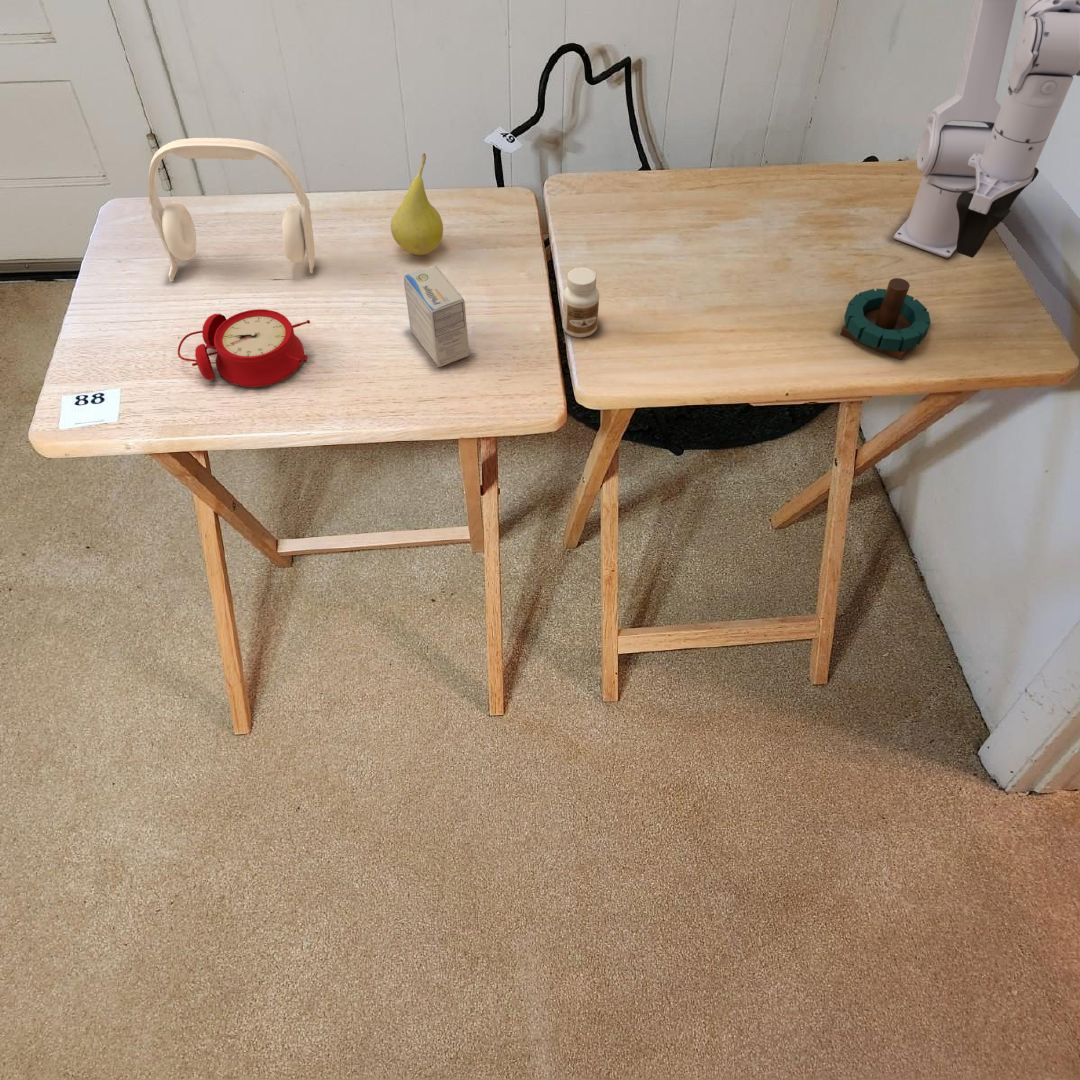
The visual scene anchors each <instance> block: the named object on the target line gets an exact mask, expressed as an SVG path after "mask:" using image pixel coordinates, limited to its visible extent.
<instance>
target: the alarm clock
mask: <svg viewBox="0 0 1080 1080" xmlns="http://www.w3.org/2000/svg"><path fill="white" fill-rule="evenodd" d="M310 323H311V320H309V319H307V320H306V321H303V322H299V323H296V324H292V322H291V321H290V320H289V318H287V317H286V316H285V315H284V314H282V313H280V312H278V311H275V310H270V309H266V308H265V309H262V308H261V309H260V308H258V309H257V308H256V309H249V310H245V311H241V312H239V313H235V314H233V315H232V316H229V317H228V318H226V316H225V315H224V314H222V313H212V314H211V315H209V316H208V317H207V319H205V321H204V323H203V326H202V329H201V330H198V331H193V332H190V333H188V334H186V335H184V336H183V338H182V339H181V340H180V342H179V345H178V347H177V356H178V358H179V359H181V360H183V361H186V362H193V363H191V366H192V367H196V366H197V368H198V371H199V372H200V374H201V376H202V377H203V378H204V379H205V380H208V381H214V380H216V377H215V373H214V369H213V365H212V363H211V359H210V356H214V355H215V366H216V370H217V372H218V373H219V375H220V376H221V377H222V378H223V379H224V380H226V381H227V382H229V383H231V384H234V385H236V386H240V387H246V388H258V387H266V386H269V385H273V384H276V383H279V382H281V381H283V380H285V379H288V377H290V376H291V375H292V374H294V373H295V372H296V370H298V369H299V367H300V366H301V364H302V363H303V361H305V362H308V361H307V360H308V355H307V354H305V350H304V346H303V343H302V341H301V340H300V339H299V337H298V336H297V335H295V330H294V328H298V327H300V326H304V325H306V324H310ZM197 334H202V335H201V336H202V339H203V342H204V343H201V344H198V345H196V347H195V350H194V353H195V354H194V355H195V357H194V358H186V357H183V356H182V355H181V347H182V345H183V343H184V342H185V340H186V339H188V338H189V337H191V336H193V335H197ZM208 349H212V350H215V351H212V352H209V353H208Z"/></svg>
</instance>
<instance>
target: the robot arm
mask: <svg viewBox="0 0 1080 1080" xmlns="http://www.w3.org/2000/svg"><path fill="white" fill-rule="evenodd" d="M1017 2H1018V0H974V1H973V7H972V11H971V15H970V21H969V25H968V26H969V27H968V31H967V35H966V40H965V46H964V48H963V49H964V50H963V55H962V60H961V64H960V70H959V74H958V79H957V84H956V89H955V93H954V95H953V96H952V97H951V98H949V99H947V100H946V101H944V102H942V103H941V104H939V105H938V106H936V107H935V108H933V110H931V112H930V113H928V116H927V118H926V122H925V126H924V129H923V132H922V134H921V137H920V140H919V143H918V148H917V154H916V168H917V170H918V171H919V173H920V175H921V176H922V178H921V180H920V184H919V187H918V189H917V192H916V194H915V198H914V201H913V204H912V207H911V210H910V213H909V216H908V218H907V219H906V220H905V221H904V223H903V224H902V225H901V226H900V228H899V229H898V230H897V231H896V232H895V233H894V235H893V239H894V240H896V241H899V242H902V243H905V244H907V245H910V246H912V247H915V248H918V249H920V250H924V251H926V252H930V253H932V254H934V255H937V256H940V257H943V258H945V259H947V258H948V259H949V258H950V257H951V256H952V255H953V254H954V252H955V251H956V253H957V254H960V255H964V256H966V257H968V258H971V259H972V258H974V257H975V256H976V255H977V254H978V253H979V251H980V250H981V248H982V246H983V245H984V244H985V242H986V240H987V238H989V235H990V233H991V232H992V231H993V229H994V228H997V227H998V225H999V224H1000V223H1002V222H1003V221H1004V220H1005V219H1006V218H1007V216H1008V215H1009V214H1010V213H1011V207H1012V205H1013V203H1014V202H1015V201H1016V199H1017V198H1018V196H1019V195H1020V194H1021V193H1022V192H1023V191H1024V190H1025V188H1027V186H1029V185H1030V184H1031V183H1033V182H1034V180H1035V179H1036V178H1037V176H1038V175H1039V172H1040V170H1039V168H1037V167H1036V166H1037V164H1038V161H1039V159H1040V158H1041V155H1042V152H1043V150H1044V148H1045V145H1046V143H1047V140H1048V139H1049V136H1050V134H1051V132H1052V129H1053V127H1054V125H1055V122H1056V120H1057V118H1058V115H1059V113H1060V111H1061V108H1062V106H1063V103H1064V102H1065V99H1066V97H1067V94H1068V92H1069V89H1070V87H1071V85H1072V83H1073V82H1074V81H1073V80H1074V76H1076V77H1080V0H1021V14H1022V26H1021V28H1020V30H1019V33H1018V36H1017V39H1016V44H1015V48H1014V55H1013V59H1012V62H1011V66H1010V69H1009V71H1008V77H1007V81H1008V86H1007V90H1006V93H1005V95H1004V98H1003V100H1002V103H1001V104H1000V103H999V102H998V101H997V99H996V98H997V97H996V96H997V92H998V87H999V83H1000V78H1001V74H1002V70H1003V65H1004V61H1005V56H1006V52H1007V47H1008V43H1009V39H1010V32H1011V29H1012V25H1013V20H1014V15H1015V11H1016V7H1017ZM949 122H971V123H982V124H985V125H986V126H974V125H957V124H948V123H949Z"/></svg>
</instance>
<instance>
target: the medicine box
mask: <svg viewBox="0 0 1080 1080" xmlns="http://www.w3.org/2000/svg"><path fill="white" fill-rule="evenodd" d="M403 285H404V292H405V298H406V306H407V314H408V315H407V316H408V320H409V328H410V333H412V335H413V336H414V337H415V339H416V340H417V341H418V342H419V344H420V345H421V346H422V348H423V349H424V350H425V352H426V353H427V355H429V357H430V358H431V359H432V361H433V362H434V363H435V365H436V366H437V368H441V367H443V366H446V365H449V364H451V363H454V362H456V361H459V360H461V359H465V358H467V357H470V347H469V335H468V324H467V323H468V322H467V313H466V304H465V303H466V302H465V299H464V298H463V296H462V295H461V293H459V292H458V290H457V289H456V288H455V287H454V286H453V284H452V283H451V282H450V281H449V279H447V277H446V276H445V275H444V274H443V272H442V271H441V270H440V269H439V268H438V266H437V265H432V266H427V267H425V268H421V269H418V270H416V271H415V270H414V271H413V272H410V273H407V274H405V275H404V276H403Z"/></svg>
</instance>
